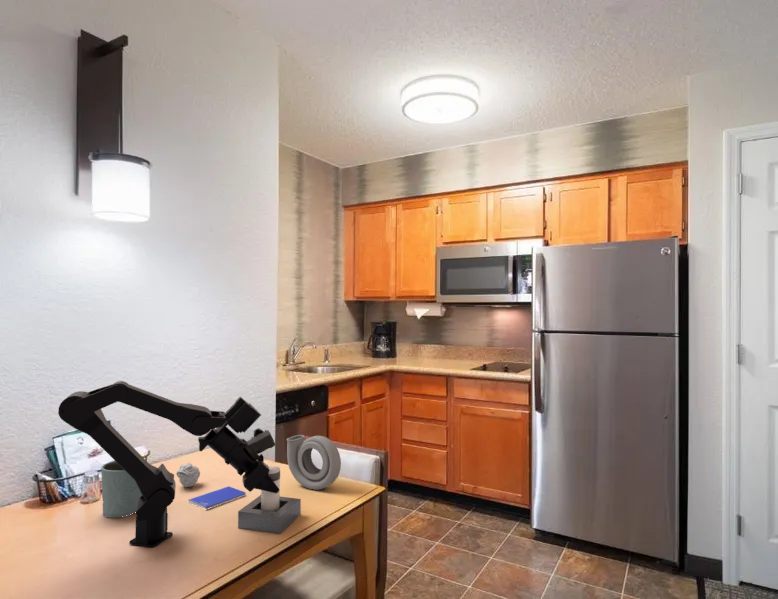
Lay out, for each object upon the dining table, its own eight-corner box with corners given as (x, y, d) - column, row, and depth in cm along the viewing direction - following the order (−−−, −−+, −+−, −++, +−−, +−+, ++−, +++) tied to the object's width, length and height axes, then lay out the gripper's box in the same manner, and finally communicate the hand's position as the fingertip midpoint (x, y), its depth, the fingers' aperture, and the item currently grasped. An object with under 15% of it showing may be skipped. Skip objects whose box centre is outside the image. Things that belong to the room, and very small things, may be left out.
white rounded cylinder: (267, 527, 119) (267, 473, 119) (256, 522, 122) (257, 468, 122) (283, 521, 122) (284, 468, 122) (272, 516, 125) (273, 464, 125)
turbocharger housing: (344, 488, 144) (344, 437, 144) (331, 496, 138) (331, 442, 138) (297, 478, 152) (298, 429, 152) (283, 485, 146) (284, 434, 146)
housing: (280, 534, 115) (280, 516, 115) (238, 528, 118) (238, 511, 118) (300, 514, 126) (300, 498, 126) (261, 509, 129) (261, 494, 129)
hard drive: (206, 506, 128) (245, 492, 138) (188, 498, 133) (228, 485, 143) (206, 512, 128) (245, 497, 138) (188, 504, 133) (227, 491, 143)
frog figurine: (171, 489, 142) (171, 465, 142) (188, 481, 148) (188, 458, 149) (188, 492, 140) (188, 467, 140) (205, 484, 147) (205, 460, 147)
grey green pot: (101, 507, 129) (102, 461, 129) (144, 500, 134) (145, 456, 134) (99, 522, 120) (100, 473, 120) (145, 514, 125) (146, 467, 125)
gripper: (260, 430, 112) (307, 473, 116) (250, 413, 129) (292, 451, 133) (223, 469, 109) (273, 512, 113) (218, 446, 126) (261, 484, 130)
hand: (276, 487), depth 122 cm, fingers open, 5 cm apart
